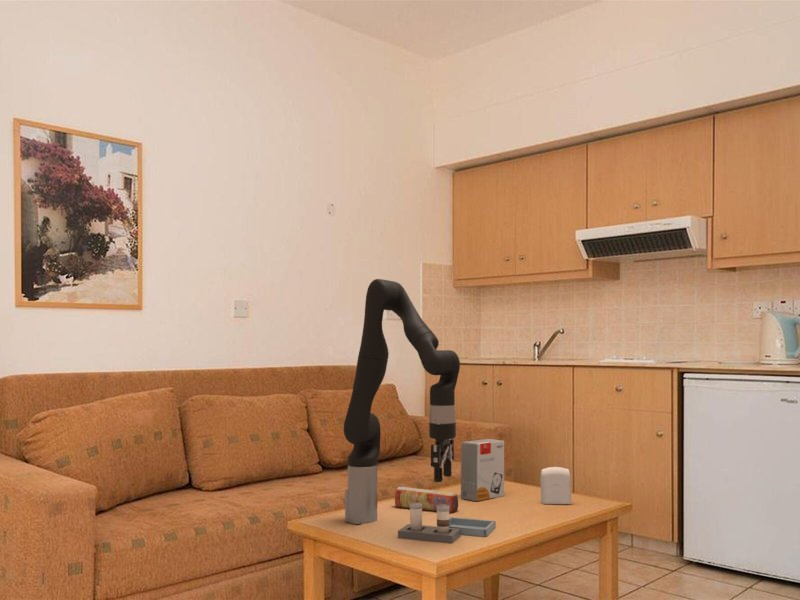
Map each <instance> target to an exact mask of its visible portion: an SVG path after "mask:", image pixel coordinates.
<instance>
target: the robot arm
mask: <svg viewBox="0 0 800 600" xmlns="http://www.w3.org/2000/svg"><path fill="white" fill-rule="evenodd" d="M364 305H365V306H364V316H363V317H364V319H363V326H362V327H363V328H362V333H361V335H362V336H361V341H360V346H359V351H358V357H357V362H356V368H355V375H354V380H353V386H352V390H351V391H352V392H351V397H350V401H349V404H348V407H347V412H346V415H345V419H344V422H343V434H344V438H345V439H346V441H348V443H350V444H352V445H353V448H352V450H351V452H350V453H349V455H348V457H347V489H346V490H345V492H344V507H345V508H344V522H347V523H350V524H354V525H363V524H371V523H375V522H377V521H378V459H379V457H380V452H381V449H380V448H381V435H382V434H381V433H382V432H381V424H380V421H379V418H378V417H377V416H376V415H375V414H374V413H372V405H373V402H374V399H375V396H376V394H377V392H378V390H380V387H381V385H382V383H383V381H384V378H385V375H386V372H387V366H388V360H389V354H390V353H389V348H388V347H389V346H388V345H387V341H386V338H385V334H384V330H383V320H384V319H383V318H384V317H383V316H384V311H392V312H393V313H395V315H396V316H398V317H399V319H400V320H401V321H402V324H403V325H402V326H403V332H404V335H405V337H406V339H407V341H408V342H410V344H411V346H412V347H413V348H414V349H415V351H416V352H417V354H418V357H419V359H420V362H421V365H422V367H423V369H424V371H426V372H427V373H428V374H430V375H432V376H439V380H438V381H437V382H436V383H434V384H432V385H430V388H429V411H428V425H429V427H428V429H429V430H428V431H429V433H428V434H429V438H431V439H432V440H433V439H434V440H435V443H434V444H431V445H430V467H432V468H433V480H434V481H433V482H435V483H441V482H443V480H444V479H443V476H444V477H447V478H449V477H451V476H452V472H453V471H452V463H453V461H454V460H455V440H454V439H455V438H456V437H457V430H456V429H457V428H456V427H457V426H456V425H457V424H456V423H457V420H456V419H457V416H456V406H455V398H456V397H455V390H456V386H457V382H458V378H459V374H460V369H461V361H460V358H459V355H458V354H457V353H456V351H454V350H451V349H450V350H449V349H447V350H442V349H441V350H440V349H438V348H439V344H440V341H439V339H438V337H437V336H436V334H434V332H433V331H432V330H431V328H430V327H429V326H428V325H427V324H426V323H425V321H424V320H423V318H421V316H420V314H419V312H418V311H417V309H416V307H415V305H414V304H413V302H412V300H411V299H410V296H409V295H408V293H407V291H406V289H405V288H404V287H403V286H402V284H401V283H399V282H396V281H394V280H388V279H384V278H383V279H381V278H376V279H373V280H372V281H371V282H370V283H369V285H368V287H367V290H366V294H365V304H364Z"/></svg>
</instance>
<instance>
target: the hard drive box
mask: <svg viewBox="0 0 800 600" xmlns="http://www.w3.org/2000/svg"><path fill="white" fill-rule="evenodd" d="M460 445H461V446H460V449H461V450H460V451H461V452H460V458H461V459H460V499H463V500H469V501H472V502H479V501H485V500H489V499H497V498H500V497H505V440H501V439H492V438H486V439H477V440H469V441H462V442H461V443H460Z"/></svg>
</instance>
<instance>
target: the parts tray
mask: <svg viewBox="0 0 800 600" xmlns="http://www.w3.org/2000/svg"><path fill="white" fill-rule="evenodd" d="M496 526H497V525H496V520H490V519H489V520H487V519H476V518H475V519H474V518H464V517H453V516H449V528H456V529H461V536H472V537H480V538H487V537H488V536H489V535H490V534H491V533H493V531H494V530H495V529H496V528H497V527H496Z"/></svg>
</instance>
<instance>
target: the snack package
mask: <svg viewBox="0 0 800 600" xmlns="http://www.w3.org/2000/svg"><path fill="white" fill-rule="evenodd" d="M412 502H420V503H422V511H430V512H431V511H432V512H437V509H436V506H437V505H440V504H446V505H449V514H454V513H455V512H457V511H458V509H459V496H458V494H457V493H456V492H451V491H442V490H441V491H440V490H436V489H435V490H433V489H424V488H414V487H410V486H409V487H407V486H398V487H397V488H396V489H395V492H394V504H395V507H396V508H400V507H401V508H403V509H410V503H412Z"/></svg>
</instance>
